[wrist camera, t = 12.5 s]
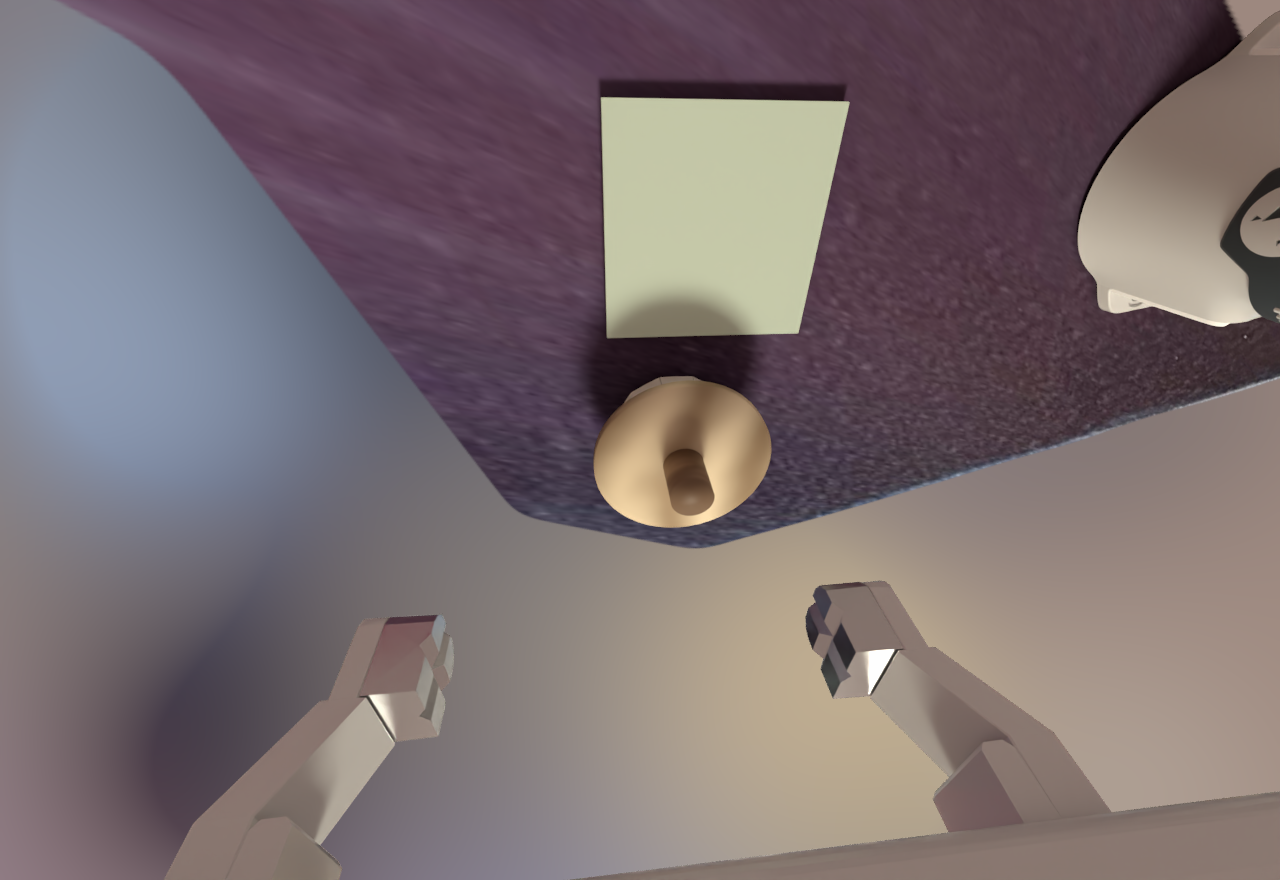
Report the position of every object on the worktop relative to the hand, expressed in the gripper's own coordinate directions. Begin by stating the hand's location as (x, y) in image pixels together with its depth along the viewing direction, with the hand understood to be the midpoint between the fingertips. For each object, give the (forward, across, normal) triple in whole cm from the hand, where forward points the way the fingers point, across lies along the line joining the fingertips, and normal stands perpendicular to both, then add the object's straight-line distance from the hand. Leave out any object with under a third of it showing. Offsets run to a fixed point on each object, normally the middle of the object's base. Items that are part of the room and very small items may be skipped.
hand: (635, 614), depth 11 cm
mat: (+29, -8, -1) cm, 30 cm away
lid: (+24, -6, +15) cm, 29 cm away
